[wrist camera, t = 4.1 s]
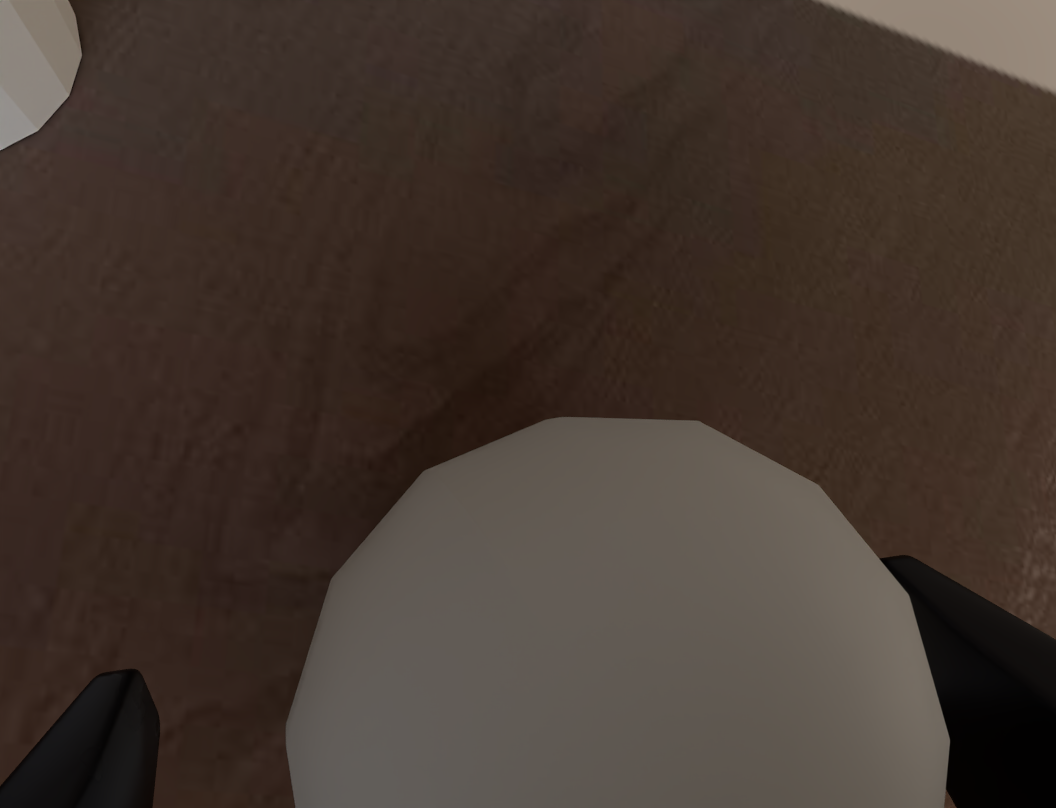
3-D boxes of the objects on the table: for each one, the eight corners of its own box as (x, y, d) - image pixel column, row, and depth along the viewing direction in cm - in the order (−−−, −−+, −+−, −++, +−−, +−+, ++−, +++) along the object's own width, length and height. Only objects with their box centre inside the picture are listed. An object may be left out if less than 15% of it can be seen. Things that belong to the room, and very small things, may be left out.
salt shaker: (620, 495, 18) (1088, 293, 5) (623, 767, 17) (1248, 1371, 4) (358, 487, 17) (163, 233, 5) (341, 770, 16) (0, 1513, 3)
